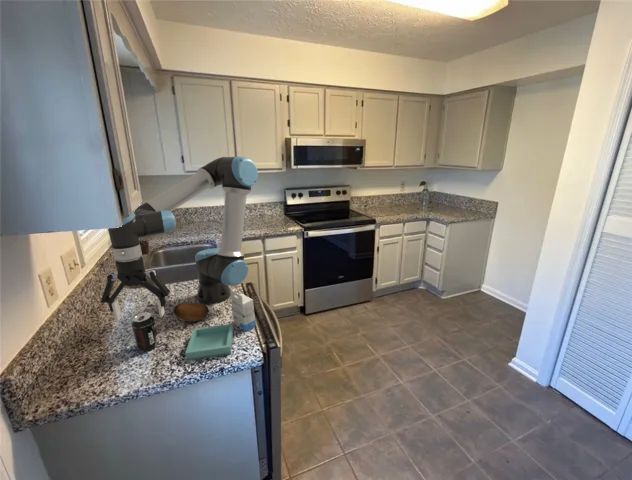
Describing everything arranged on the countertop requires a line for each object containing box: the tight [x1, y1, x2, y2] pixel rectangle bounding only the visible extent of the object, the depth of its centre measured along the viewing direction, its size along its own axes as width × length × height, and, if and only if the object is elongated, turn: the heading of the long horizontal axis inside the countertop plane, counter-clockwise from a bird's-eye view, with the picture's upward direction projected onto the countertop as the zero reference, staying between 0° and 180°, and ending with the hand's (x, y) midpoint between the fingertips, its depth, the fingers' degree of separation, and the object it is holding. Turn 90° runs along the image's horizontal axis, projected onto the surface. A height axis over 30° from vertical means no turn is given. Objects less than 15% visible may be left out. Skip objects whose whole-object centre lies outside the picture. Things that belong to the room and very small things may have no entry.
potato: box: [172, 302, 210, 323], centre depth 118 cm, size 8×13×8 cm
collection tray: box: [184, 323, 235, 362], centre depth 103 cm, size 14×14×3 cm
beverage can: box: [131, 312, 160, 352], centre depth 101 cm, size 7×7×12 cm
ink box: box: [230, 290, 256, 332], centre depth 112 cm, size 8×5×15 cm, turn 47°
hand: (140, 317), depth 99 cm, fingers open, 13 cm apart
